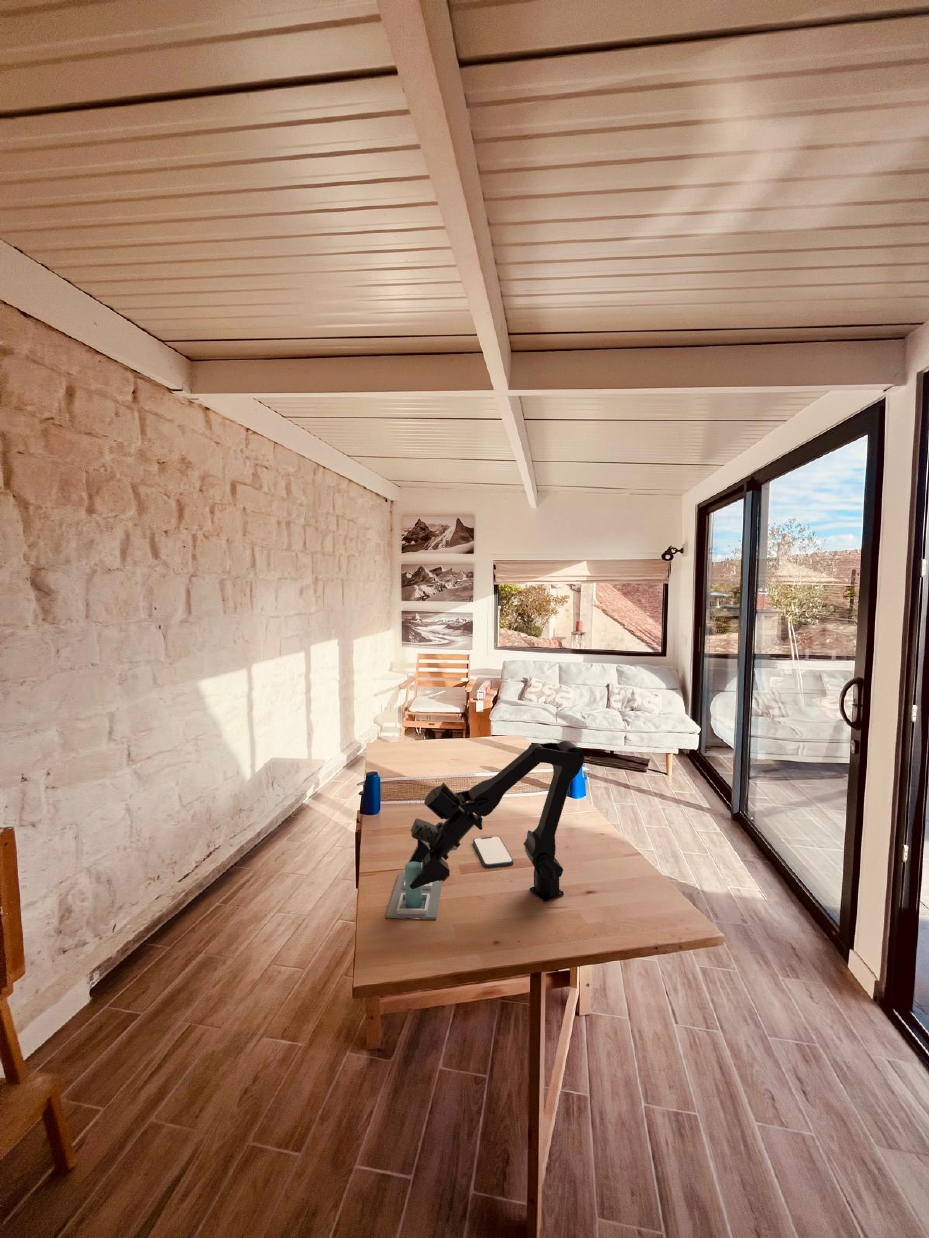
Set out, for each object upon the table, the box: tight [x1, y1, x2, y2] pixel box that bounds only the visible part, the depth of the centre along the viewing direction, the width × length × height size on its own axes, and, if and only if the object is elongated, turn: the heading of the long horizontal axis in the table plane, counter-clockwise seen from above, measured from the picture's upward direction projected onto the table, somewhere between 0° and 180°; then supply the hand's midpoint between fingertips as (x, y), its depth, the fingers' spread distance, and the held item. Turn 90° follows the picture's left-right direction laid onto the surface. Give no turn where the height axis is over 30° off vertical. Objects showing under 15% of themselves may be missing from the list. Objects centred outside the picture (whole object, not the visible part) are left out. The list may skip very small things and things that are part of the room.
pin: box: [404, 861, 422, 909], centre depth 137 cm, size 4×4×10 cm
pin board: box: [385, 871, 443, 920], centre depth 143 cm, size 20×12×2 cm, turn 178°
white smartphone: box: [472, 835, 514, 869], centre depth 164 cm, size 9×2×16 cm
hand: (409, 877), depth 137 cm, fingers open, 9 cm apart
